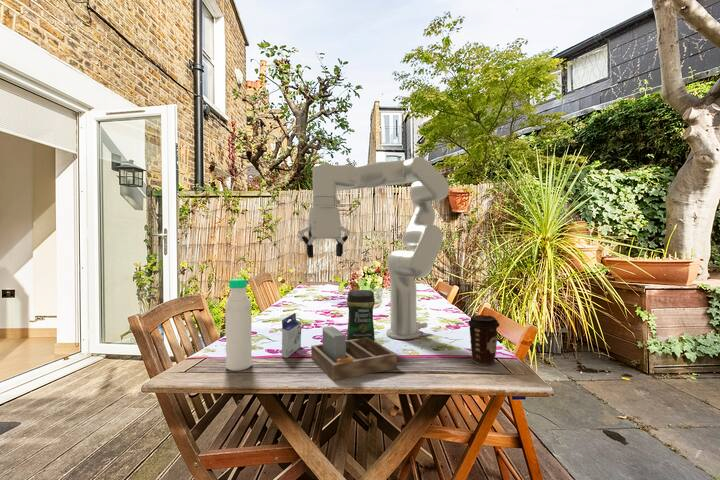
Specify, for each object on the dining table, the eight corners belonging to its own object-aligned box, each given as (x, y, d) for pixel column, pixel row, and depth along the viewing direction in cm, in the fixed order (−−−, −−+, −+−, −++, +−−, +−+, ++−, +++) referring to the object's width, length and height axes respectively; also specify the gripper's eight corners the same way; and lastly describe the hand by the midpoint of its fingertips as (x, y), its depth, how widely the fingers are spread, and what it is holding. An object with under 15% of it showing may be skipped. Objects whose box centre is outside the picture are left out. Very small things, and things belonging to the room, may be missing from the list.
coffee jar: (347, 348, 119) (346, 292, 118) (346, 341, 127) (345, 288, 126) (376, 347, 119) (376, 291, 119) (373, 340, 127) (373, 288, 127)
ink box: (288, 358, 110) (288, 320, 110) (281, 357, 110) (280, 320, 110) (302, 346, 121) (301, 312, 121) (295, 346, 122) (295, 312, 121)
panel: (332, 359, 108) (332, 326, 108) (346, 370, 99) (346, 334, 99) (322, 361, 106) (322, 327, 106) (335, 373, 97) (335, 336, 97)
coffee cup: (499, 358, 108) (499, 315, 108) (500, 368, 101) (500, 321, 100) (468, 355, 111) (468, 313, 111) (467, 364, 103) (467, 319, 103)
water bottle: (237, 373, 98) (236, 281, 98) (220, 368, 102) (219, 280, 101) (257, 365, 104) (256, 278, 104) (240, 360, 108) (239, 277, 107)
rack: (367, 349, 117) (367, 334, 117) (396, 368, 101) (396, 350, 101) (311, 358, 109) (311, 342, 109) (333, 380, 93) (333, 361, 93)
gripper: (344, 205, 123) (345, 255, 123) (295, 203, 115) (295, 257, 116) (354, 203, 116) (354, 256, 116) (301, 201, 108) (302, 258, 109)
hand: (325, 256), depth 116 cm, fingers open, 9 cm apart
